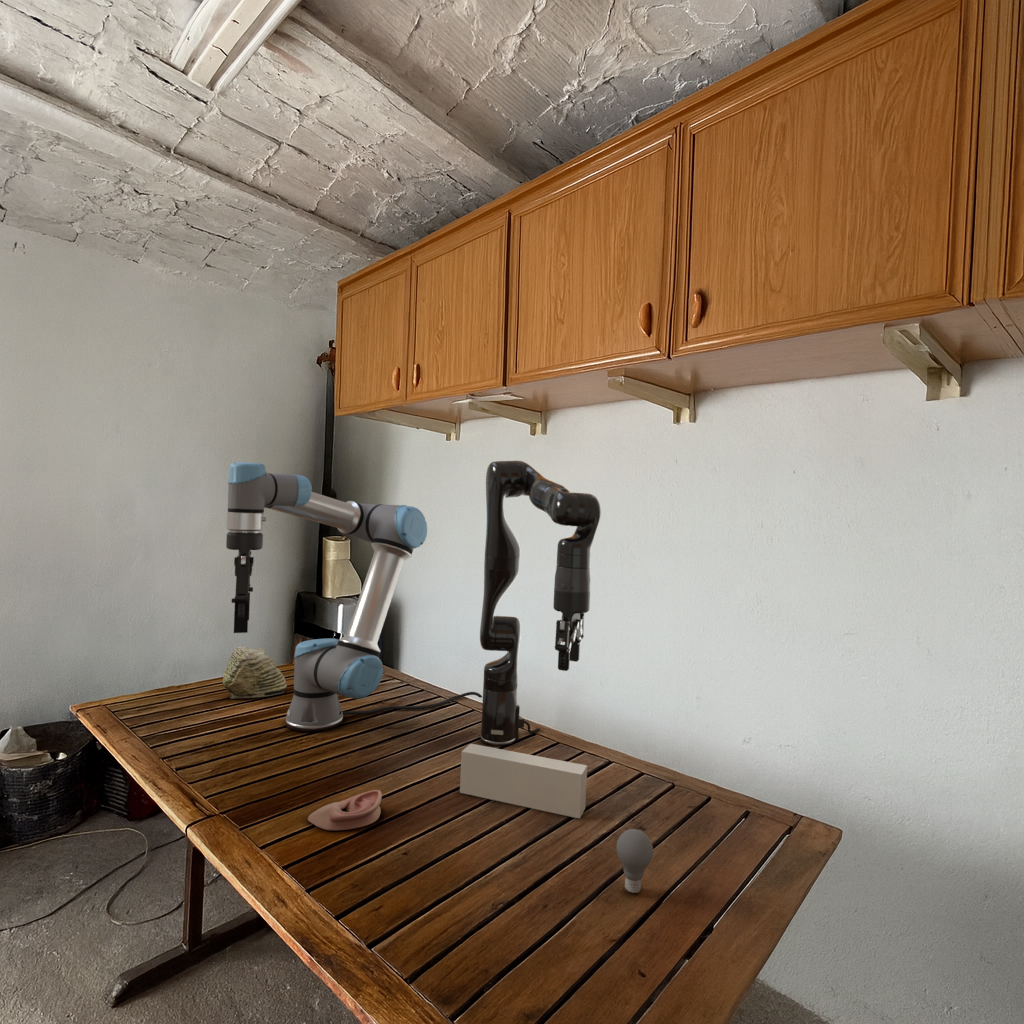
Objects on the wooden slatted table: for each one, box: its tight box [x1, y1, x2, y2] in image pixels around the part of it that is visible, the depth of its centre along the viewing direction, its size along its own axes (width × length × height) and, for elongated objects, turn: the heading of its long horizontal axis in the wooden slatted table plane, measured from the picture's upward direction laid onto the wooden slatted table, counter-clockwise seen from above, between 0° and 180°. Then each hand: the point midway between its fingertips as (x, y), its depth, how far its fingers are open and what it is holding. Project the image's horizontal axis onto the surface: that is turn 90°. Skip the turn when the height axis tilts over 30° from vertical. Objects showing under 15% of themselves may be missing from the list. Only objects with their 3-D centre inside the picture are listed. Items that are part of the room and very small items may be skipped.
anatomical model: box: [307, 789, 383, 831], centre depth 126 cm, size 13×4×12 cm
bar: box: [459, 743, 588, 820], centre depth 136 cm, size 27×5×9 cm, turn 70°
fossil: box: [222, 646, 288, 699], centre depth 198 cm, size 9×18×15 cm, turn 132°
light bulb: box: [615, 828, 654, 894], centre depth 106 cm, size 6×6×10 cm
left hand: (241, 626), depth 142 cm, fingers open, 13 cm apart
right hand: (568, 665), depth 132 cm, fingers open, 8 cm apart
